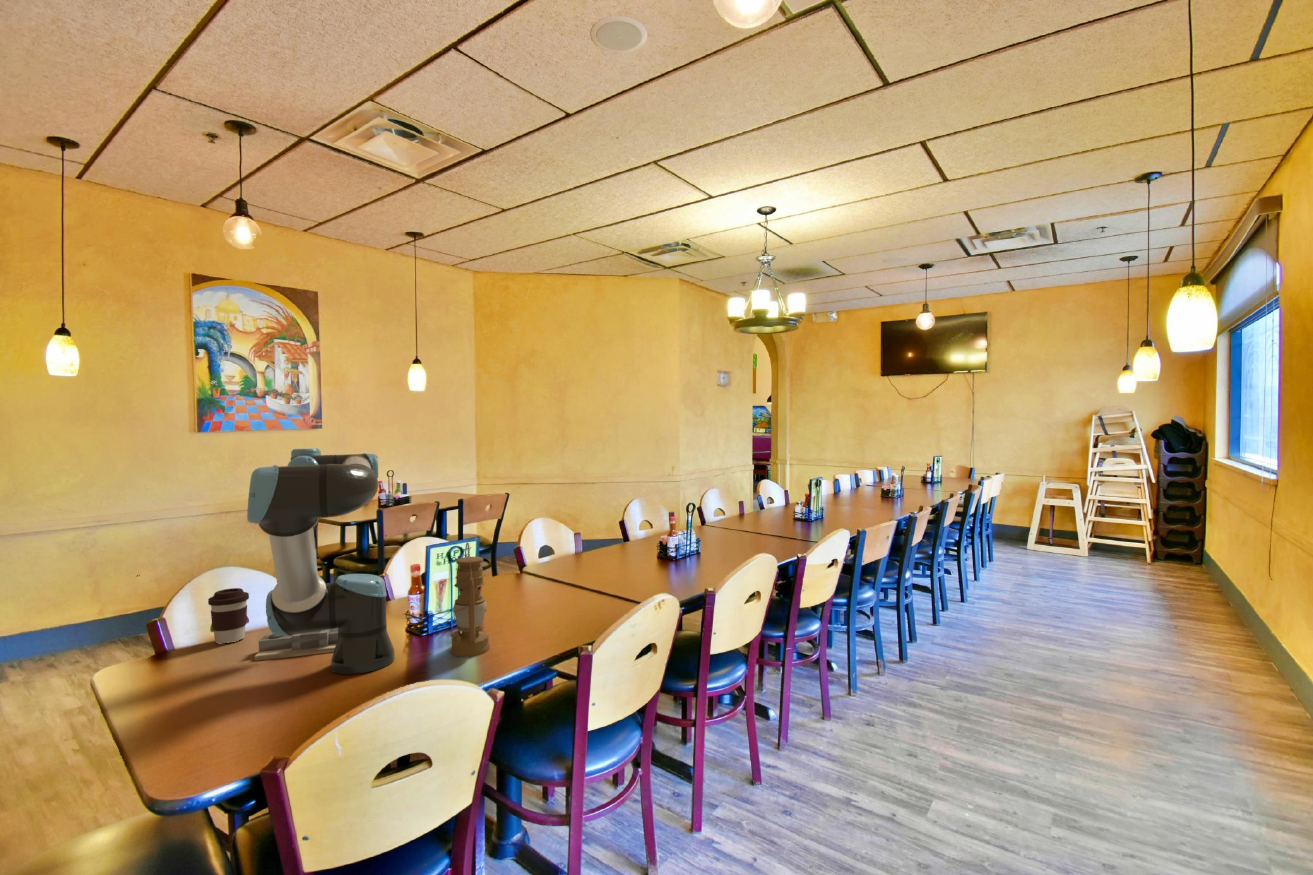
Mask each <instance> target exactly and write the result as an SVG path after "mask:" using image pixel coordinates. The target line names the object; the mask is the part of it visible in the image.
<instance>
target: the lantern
mask: <svg viewBox="0 0 1313 875" xmlns="http://www.w3.org/2000/svg"><path fill="white" fill-rule="evenodd" d="M455 562H456V565H459V566H458V568H457V570H456V576H455V579H456V583H454V587H455V588H457V589H458V593H459V594H458V596H457V599H454V604H453V607H452V608H453V609H452V611H453V612H452V614H453V615H452V616H453V620H454V622H455V625H456V630H455V631H453V632H452V633H451V634H450V637H451V647H450V653H451V655H453V656H456V657H463V658H465V657H474V656H479V655H482V654H485V653H487V652H489V650H490V648H491V646H490V645H491V644H490V642H489V640H490V639H489V638H490V637H489V634H488V633H486V632H484V631H480V630H481V629H483V628H484V623H483V622H484V618H485V614H486V610H487V602H486V598H485V596H483V593H481V592H482V587H483V586H485V585H486V582H485V581H484V576H485V575H484V572H483V571H484V569H483V567H482V563H483V562H484V558H483V557H480V556H470V543H469V542H466V544H465V551H464V557H460V558H457V559H456V560H455Z"/></svg>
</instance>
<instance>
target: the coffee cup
mask: <svg viewBox="0 0 1313 875" xmlns="http://www.w3.org/2000/svg"><path fill="white" fill-rule="evenodd" d="M249 598H250V594H249V592H247V591H244V590H243V589H242V588H241V587H240V588H239V587H233V588H226V589H220V590H218V591H215V592H214V594H213V595H212V596H211V597H209V598H208V599H207V600H208V601H207V604H208V606H210V608H211V610H210V617H211V618H210V619H211V624H212V625H211V626H212V631H213V636H214V643H215V642H218V643H227V642H232V641H237V640H240V639H243V638H244V639H245V638H246V637H245V636H246V634H245V633H246V625H247V615H248V604H247V601H248V600H249ZM244 639H243V640H244Z"/></svg>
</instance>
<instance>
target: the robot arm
mask: <svg viewBox="0 0 1313 875" xmlns="http://www.w3.org/2000/svg"><path fill="white" fill-rule="evenodd" d="M378 478H379V456H378V455H377V454H375V453H365V452H364V453H356V454H355V453H353V454H323V455H322V450H321V449H319V448H317V447H315V448H314V447H313V448H312V447H311V448H293V449H292V450H291V452H290V461H288V463H287V465H284V466H283V465H281V466H279V465H276V464H275V465H272V466H260V467H257V468H255V469H254V470H253V471H252V473H251V475H250V483H249V487H248V488H249V489H248V490H249V491H248V499H247V500H248V501H247V511H246V512H247V513H246V518H247V522H248V523H250V524H255V525H257V524H258V526H259V528H260V529H261V531H262V532H264V533H265V535H268V536H269V538H268V539H269V543H270V550H271V555H272V560H273V561H272V562H273V566H274V572H275V574H274V575H275V580H276V584H275V586H274V588H273V589H271V590H270V591H269V592H267V595H266V599H265V614H266V620H267V625H268V628H269V630H270V632H271V633H272V634H274V635H276V636H284V635H289V636H291V635H295V634H301V633H308V632H315V631H321V630H328V629H335V628H338V640H337V643H336V647H335V650H334V652H332V656H331V659H330V669H331V672H333V673H336V674H338V675H339V674H340V675H358V674H365V673H369V672H373V671H377V670H380V669H383V668H385V667H388V666H389V665H391V664H392V663H393V662H394V661H395V657H396V655H395V653H396V652H395V648H394V645H393V643H392V641H391V638H390V635H389V633H388V629H387V628H388V627H387V626H388V625H387V602H386V601H387V600H386V598H387V590H386V589H387V588H386V582H385V580H384V578H383V577H381V576H379V575H375V574H370V573H348V574H341V575H339V576H337V578H336V579H335V582H328V583H326V582H325V581H324V579H323V578H322V577H321V576H320V575H319V572H318V564H317V560H319V559H320V558H321V557H320V555H319V551H318V550H319V545H318V540H319V538H318V537H319V536H318V535H319V534H318V533H319V532H318V529H319V523H318V522H319V519H324V518H326V519H328V518H336V517H341V516H344V515H348V514H350V513H353V512H355V511H357V510H360V509H362V508H363V507H365V506H366V505H368V503H370V502H371V501H372V500H373V499H374V497H375V496H376V495H377V492H378V488H379V480H378ZM315 549H316V551H315Z"/></svg>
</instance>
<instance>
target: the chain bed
mask: <svg viewBox="0 0 1313 875" xmlns="http://www.w3.org/2000/svg"><path fill="white" fill-rule="evenodd" d="M337 640H338V628H335V629H328V630H321V631H315V632H308V633H301V634H295V635H291V636H289V635H284V636H276V635H274V634H273V633H272V634H267V635H266V634H265V635H264V636H263V637H261V638H260V639H259V640H258V652H257V653H256V654H255V655H254V662H255V661H266V660H275V659H282V658H292V657H301V656H309V655H310V656H311V655H320V654H327V653H334V650H335V647H336V643H337Z"/></svg>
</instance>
